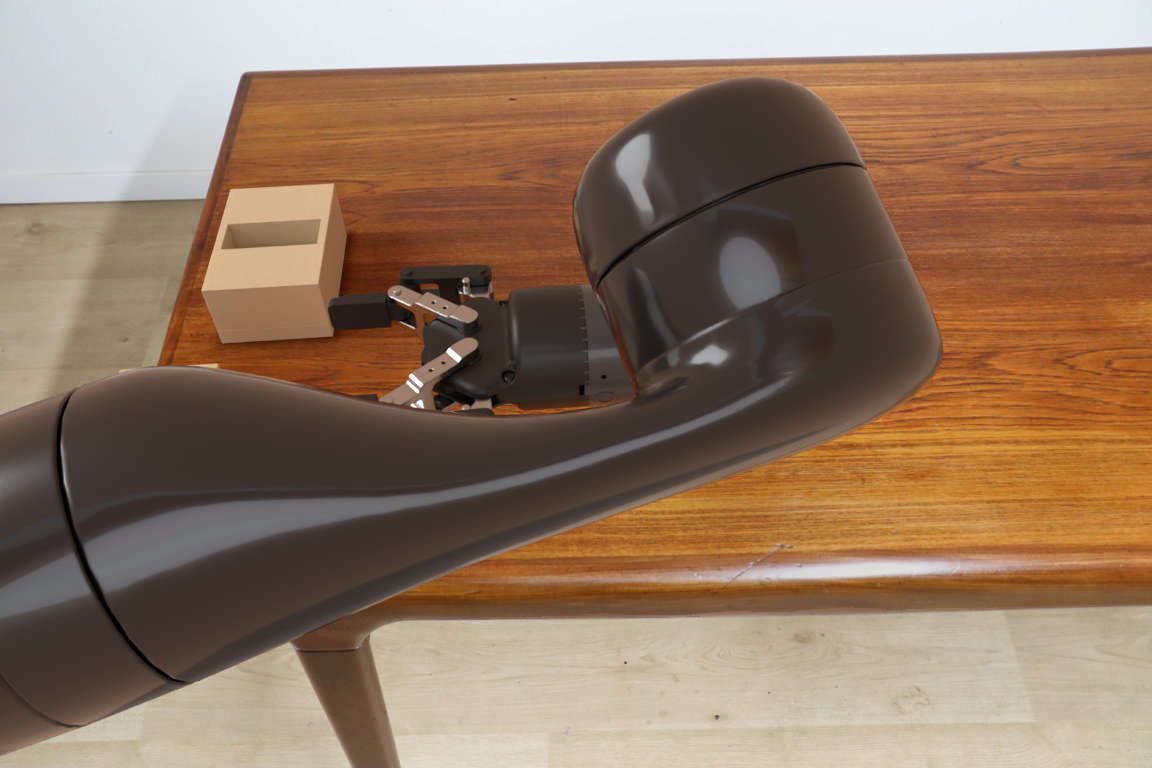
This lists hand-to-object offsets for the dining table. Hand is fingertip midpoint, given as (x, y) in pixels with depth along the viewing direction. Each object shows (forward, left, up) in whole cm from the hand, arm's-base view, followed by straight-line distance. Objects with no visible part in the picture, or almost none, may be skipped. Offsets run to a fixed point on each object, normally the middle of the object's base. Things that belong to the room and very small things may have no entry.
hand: (323, 362), depth 57 cm
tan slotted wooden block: (+7, +26, -15) cm, 31 cm away
